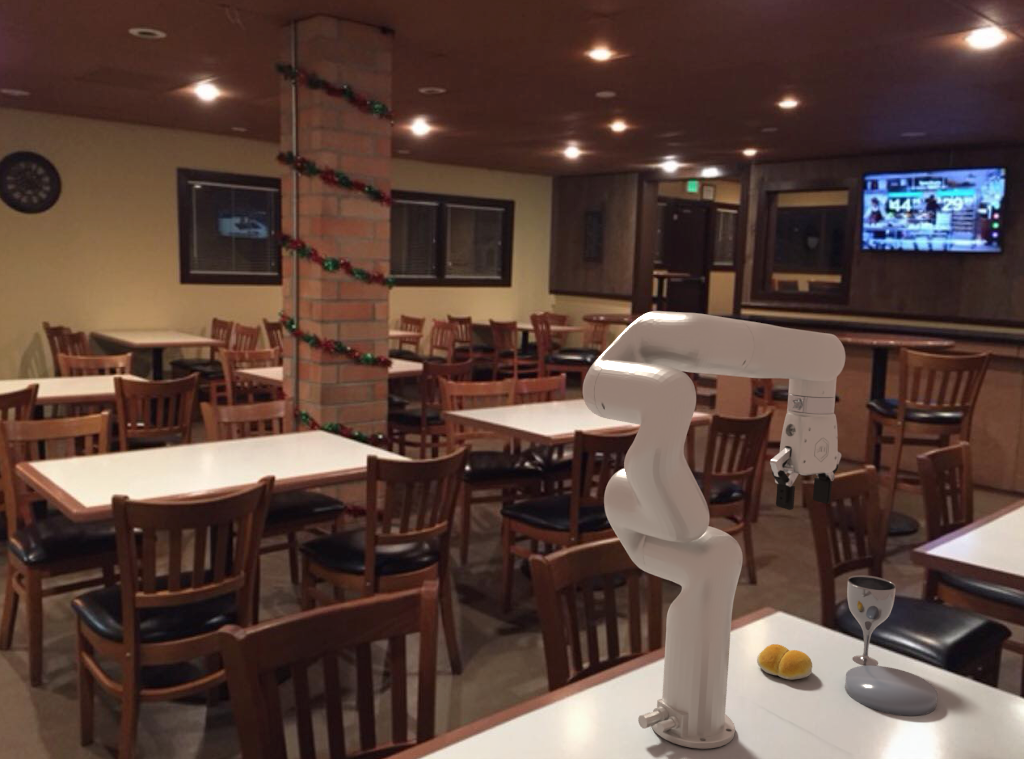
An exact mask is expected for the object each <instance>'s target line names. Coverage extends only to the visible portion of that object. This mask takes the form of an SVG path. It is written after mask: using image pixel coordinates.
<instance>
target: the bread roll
mask: <svg viewBox="0 0 1024 759" xmlns="http://www.w3.org/2000/svg"><path fill="white" fill-rule="evenodd" d="M756 662H757V665H758V667H759V668H760V669H761V670H762V671H764V672H765V673H766V674H770V675H773V676H778V677H780V678H782V679H784V680H799V679H804V678H807V677H808V676H810V675H811V674H812V671H813V670H812V669H813V661H812V659H811V658H810V656H809V655H807V653H805V652H803V651H800V650H795V649H789V648H787V647H786V646H784V645H782V644H779V643H777V644H776V643H775V644H769V645H768V646H766V647H764V648H763V650H761V651H760V652H759V654H758V656H757V657H756Z"/></svg>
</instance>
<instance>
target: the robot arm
mask: <svg viewBox="0 0 1024 759" xmlns="http://www.w3.org/2000/svg"><path fill="white" fill-rule="evenodd" d="M845 350H846V349H845V347H844V345H843V343H842V341H841V340H840V339H839V338H838V336H836V335H835V334H834V333H833V334H832V333H826V332H825V333H824V332H818V331H811V330H804V329H796V328H789V327H783V326H778V325H774V324H768V323H761V322H756V321H750V320H744V319H736V318H730V317H725V316H723V317H722V316H718V315H712V314H704V313H696V312H679V311H677V312H676V311H662V310H653V311H649V312H646V313H643V314H642V315H640V316H639V317H638V318H636V319H635V320H634V321H632V322H631V323H630V324H629V325H628V326H627V327H626V328H625V329H624V330H623V331H621V333H620V334H619V335H618V336H617V337H616V338H615V339H614V340H613V341H612V343H610V345H608V347H607V348H606V349H605V350H604V351H603V352H602V353H601V354H600V355H599V356H598V358H596V359H595V361H594V362H593V363H592V365H590V367H589V369H588V370H587V372H586V375H585V376H584V379H583V383H582V397H583V401H584V403H585V406H586V407H587V408H588V409H589V410H590V412H592V413H593V414H594V415H596V416H598V417H600V418H603V419H607V420H613V421H617V422H618V421H619V422H624V423H629V424H633V425H634V424H635V425H640V426H639V429H638V430H637V433H636V436H635V438H634V440H633V442H632V443H631V445H630V447H629V449H628V450H627V452H626V454H625V457H624V460H623V461H624V462H623V464H624V465H623V468H621V469H619V470H618V471H616V472H615V473H614V474H613V475H612V476H611V477H610V479H609V480H608V482H607V485H606V487H605V490H604V495H603V496H604V497H603V504H604V506H603V507H604V513H605V516H606V518H607V521H608V523H609V524H610V527H611V528H612V530H613V532H614V533H615V535H616V536H617V538H618V540H619V542H620V543H621V545H622V546H623V548H624V550H625V551H626V553H627V555H628V556H629V558H630V559H631V561H632V562H633V564H635V565H636V567H637V568H638V569H640V570H642V571H644V572H645V573H647V574H650V575H653V576H655V577H658V578H661V579H664V580H667V581H670V582H673V583H675V584H677V585H679V586H681V591H680V593H679V594H678V595H677V597H676V598H675V599H674V600H673V601H672V602H671V603H670V605H669V607H668V609H667V610H668V611H667V614H666V621H665V622H666V623H665V627H666V628H665V629H666V630H665V631H666V632H665V642H664V643H665V644H664V646H665V647H664V662H663V663H664V664H663V677H662V678H663V679H662V681H663V682H662V697H661V698H660V699H657V704H656V708H654V709H653V710H652V711H651V712H647V713H643V714H641V715H639V716H638V719H637V720H638V724H639V726H640V727H641V728H642V729H647V728H650V727H651V729H652V730H653V731H654V732H655V734H657V735H658V736H659V737H661V739H664V740H666V741H667V742H670V743H672V744H675V745H678V746H681V747H686V748H690V749H691V748H692V749H702V750H703V749H707V750H708V749H715V748H719V747H723V746H725V745H728V743H730V742H731V741H732V740H733V739H734V737H735V734H736V733H735V729H736V727H735V723H734V722H733V720H732V719H731V717H730V716H728V715H727V714H726V707H727V706H726V705H727V693H728V692H727V691H728V690H727V689H728V676H729V662H730V661H729V659H730V644H731V631H732V630H731V628H732V616H733V607H734V599H735V594H736V590H737V587H738V586H737V585H738V583H739V580H740V579H739V578H740V575H741V571H742V566H743V557H744V556H743V552H742V551H743V550H742V548H741V546H740V544H739V542H738V541H737V540H736V538H734V537H733V536H732V535H730V534H729V533H727V532H725V531H723V530H721V529H719V528H716V527H714V526H713V527H712V526H709V525H710V510H709V506H708V503H707V501H706V499H705V496H704V494H703V492H702V490H701V488H700V486H699V485H698V482H697V480H696V478H695V476H694V474H693V472H692V470H691V468H690V466H689V464H688V462H687V459H686V457H685V452H684V450H685V449H684V448H685V442H686V438H687V434H688V432H689V428H690V426H691V422H692V420H693V416H694V415H695V414H694V413H695V410H696V405H697V393H696V388H695V385H694V382H693V380H692V379H691V378H690V377H689V375H688V374H687V373H695V374H706V375H719V376H730V377H738V378H739V377H740V378H741V377H742V378H750V379H751V378H753V379H785V380H788V396H787V408H786V414H785V417H784V421H783V422H784V423H783V426H782V432H781V436H780V444H779V446H780V447H779V452H778V453H777V454H776V455H774V456H773V457H772V458H771V459H770V461H769V464H770V466H771V467H770V468H771V470H772V471H771V472H772V473H771V474H772V476H773V478H774V483H775V484H776V498H775V501H776V502H775V506H776V507H778V508H782V509H785V510H789V511H790V510H791V511H792V510H794V504H795V494H796V493H795V492H796V486H794V485H793V484H794V483H795V481H796V480H797V478H798V476H799V474H800V475H801V476H812V475H816V476H817V477H814V479H813V493H812V500H814V501H815V502H817V503H818V502H819V503H823V504H826V505H829V504H830V503H831V497H832V486H833V481H834V479H835V474H836V473H837V471H838V469H839V464H840V461H841V459H842V453H841V452H840V451H838V444H839V442H838V437H839V436H838V422H837V417H836V416H837V415H836V414H835V403H836V392H837V391H836V390H837V377H838V376H839V375H841V373H842V371H843V369H844V367H845V362H846V351H845ZM685 372H687V373H685ZM787 474H789V475H787Z"/></svg>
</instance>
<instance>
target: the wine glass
mask: <svg viewBox="0 0 1024 759" xmlns="http://www.w3.org/2000/svg"><path fill="white" fill-rule="evenodd" d="M846 590H847V592H846V594H847V596H846V597H847V603H848V608H849V611H850V612H851V614H852V616H853V617H854V618H855V620H856V621H857V622H858V624H859V625H860V627H861V630H862V634H863V652H862V655H854V656H853V657H852V658H851V659H852V661H853V662H854V663H855V664H858V665H860V666H879V661H878V660H876V658H873V657H871V656H870V655H869V647H870V642H871V636H872V633H873V632H874V631H875V629H876V628H877V627H878V626H880V625H881V624H882V623H884V622H885V621H886V620H887V619H888V617H890V615H891V612H892V610H893V607H894V603H895V597H896V596H895V595H896V584H895V583H894V582H893V581H890V580H889V579H888V580H887V579H886V578H881V577H878V576H874V575H873V576H872V575H865V574H864V575H863V574H862V575H861V574H859V575H851V576H849V577H848V579H847V589H846Z"/></svg>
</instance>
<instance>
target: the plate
mask: <svg viewBox="0 0 1024 759" xmlns="http://www.w3.org/2000/svg"><path fill="white" fill-rule="evenodd" d="M844 689H845V692H846V694H848V696H849V697H851V699H853V700H854V701H856V702H857V703H859V704H860V705H861V704H862V705H863V706H865V707H868V708H870V709H873V710H875V711H879V712H882V713H886V714H891V715H897V716H903V717H904V716H905V717H908V716H909V717H916V716H917V717H918V716H924V715H925V716H926V715H927V714H930V713H932V712H934V711H935V710H936V707H937V702H938V700H937V699H938V691H937V688H935V686H934V685H933V684H932V683H931V682H929V681H928V680H926V679H924V677H923V678H922V677H920V676H919V675H916V674H913V673H912V672H909V671H905V670H902V669H898V668H894V667H890V666H881V665H877V666H863V665H860V666H856V667H852V668H850V669H849V670H847V671H846V674H845V682H844Z"/></svg>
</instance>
